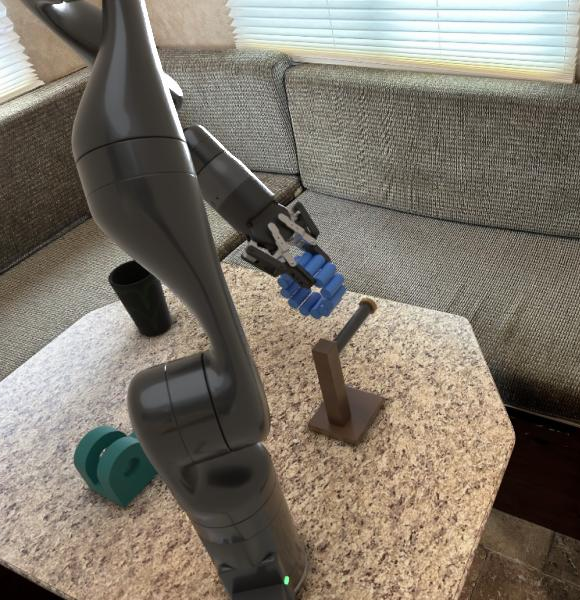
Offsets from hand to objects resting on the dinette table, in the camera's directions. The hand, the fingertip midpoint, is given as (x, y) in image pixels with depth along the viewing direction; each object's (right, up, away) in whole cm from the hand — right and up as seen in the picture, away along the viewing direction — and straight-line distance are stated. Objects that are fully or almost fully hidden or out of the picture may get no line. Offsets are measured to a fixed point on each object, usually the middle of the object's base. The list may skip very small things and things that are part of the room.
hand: (320, 276), depth 89 cm
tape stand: (+5, -19, +1) cm, 19 cm away
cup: (-32, -8, +19) cm, 38 cm away
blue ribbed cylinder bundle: (-1, -5, +5) cm, 7 cm away
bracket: (-23, -25, -3) cm, 34 cm away
